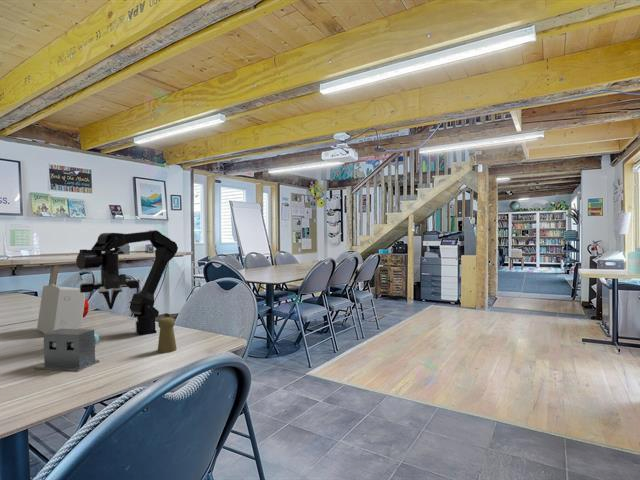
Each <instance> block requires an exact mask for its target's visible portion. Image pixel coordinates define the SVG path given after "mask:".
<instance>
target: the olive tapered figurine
mask: <svg viewBox="0 0 640 480" xmlns="http://www.w3.org/2000/svg"><path fill="white" fill-rule="evenodd" d="M157 324H158V328H159V334H158V335H159V336H158V342H157V353H159V354H167V353H168V354H169V353H172V352H176V351H177V344H176V337H175V331H174V330H175V329H174V326H175V324H176V322H175V319H174V317H172V316H171V317H170V316H167V317H161V318H160V319H158V323H157Z"/></svg>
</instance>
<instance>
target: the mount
mask: <svg viewBox="0 0 640 480" xmlns="http://www.w3.org/2000/svg"><path fill="white" fill-rule="evenodd" d="M94 332H95V329H92V328H91V329H87V328H86V329H85V328H79V329H58V330H54V331H51V332H47V333H43V361H44V362H43V363H40V364H39V365H36V366H33V369H34V370H44V371H45V370H47V371H50V370H51V371H66V372H80V371H82V370H83V371H84V369H87V368H89V367H91V366H94V365H95V364H98V363H100V359H96V347H95V346H96V345H95V336H94ZM53 342H56V347H55V348H54V347H53V346H52V343H53ZM73 342H74V348H72V347H71V343H73Z"/></svg>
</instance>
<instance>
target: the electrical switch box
mask: <svg viewBox="0 0 640 480" xmlns="http://www.w3.org/2000/svg"><path fill="white" fill-rule="evenodd" d="M89 308H90V307H89V302H88V299H86V295H85V293H81V292H80V287H72V286H71V287H70V286H57V285H56V284H53V283H51V284H48V285H46V284H45V285H43V286H42V293H41V299H40V305H39V312H38V319H37V320H38V321H37V326H36V329H37V330H38V331H40V332H41V334H42V333H43V334H44V333H47V332H51V331H54V330H58V329H80V327H81V325H82V324H83V319H85V317H86V316H88V314H89Z"/></svg>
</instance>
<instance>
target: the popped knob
mask: <svg viewBox="0 0 640 480" xmlns="http://www.w3.org/2000/svg"><path fill="white" fill-rule="evenodd" d="M94 336H95V346H96V345H97V344H98V343H99V342H100V335H99V334H98V332H96V331H94ZM71 347H72V348H74V342H73V343H71Z"/></svg>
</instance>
